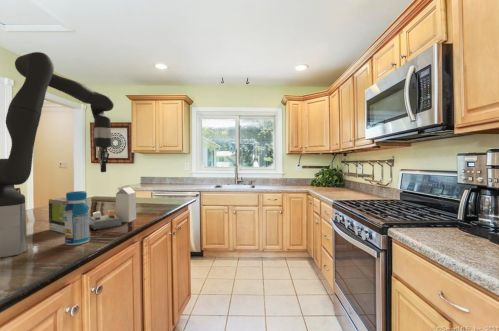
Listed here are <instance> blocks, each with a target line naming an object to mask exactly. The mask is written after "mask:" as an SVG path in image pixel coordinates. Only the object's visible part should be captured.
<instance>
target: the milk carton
mask: <svg viewBox="0 0 499 331" xmlns="http://www.w3.org/2000/svg"><path fill="white" fill-rule="evenodd" d="M115 211H116V214H115V215H116V216H118V217H119V218H121V223H131V222H134V221H135V220H137V197H136V191H135V190H134V189H133V188H132V187H131V186H130V184H128V185H121V188H120V189H119V191H117V192H116V193H115Z"/></svg>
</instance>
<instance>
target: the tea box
mask: <svg viewBox="0 0 499 331" xmlns="http://www.w3.org/2000/svg"><path fill="white" fill-rule="evenodd" d="M86 200H87V199H86ZM86 200H85V202H86V203H87V201H86ZM67 204H68V201H67V200H66V196H65V197H57V198H55V197H54V198H48V229H49V230H51V231H54V232H57V233H61V234H65V220H64V215H65V212H64V209H65V207H66V205H67Z"/></svg>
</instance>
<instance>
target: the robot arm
mask: <svg viewBox="0 0 499 331" xmlns="http://www.w3.org/2000/svg"><path fill="white" fill-rule="evenodd" d="M14 67H15V69H16V71H17V72H18V73H19V74H20V76H22V77H24V78H25V79H24V82H23V84H22V86H21V87H20V88H19V90H18V91H17V92H16V94H15V95H14V97H13V98H12V100H10V103H9V105H8V108H7V113H6V116H5V117H6V118H5V126H6V129H7V132H8V134H9V136H10V140H11V147H10V152H9V155H8V158H0V259H1V257H2V258H7V257H11V256H13V257H14V256H17V255H22V253H24V252H26V251H27V250H28V249H27V222H26V221H27V220H26V219H27V217H26V216H27V215H26V197H25V195H24V194H23V193H20V192H19V191H18V190H17V189H16V188H15V186H19V185H23V184H24V183H26V182H27V181H28V180H29V177H30V175H31V172H32V165H33V156H34V155H33V153H34V147H35V142H36V141H35V140H36V136H37V132H38V127H39V124H40V120H41V117H42V111H43V106H44V102H45V98H46V95H47V91H48V88H53V89H54V90H57V91H59V92H62V93H64V94H66V95H68V96H70V97H72V98H74V99H76V100H77V101H80V102H82V103H83V104H87V105H90V110H91V111H90V112H91V114H92V117H93V119H94V121H93V122H94V128H93V146H94V147H95V148H98V150H97V158H98V159H97V160H98V164H99V165H100V172H101V173H106V172H107V164H108V162H109V157H110V153H109V150H108V148H112V130H111V118H110V116H106V115H105V112H110V111H112V110H113V108H114V101H113V100H112V99H111V98H110V97H109V96H107V95H105V94H102V93H100V92H98V91H95V90H92V89H90V87H87V86H85V85H84V84H82V83H80V82H78V81H75V80H72V79H69V78H66V77H63V76H60V75H58V74H55V73H54V71H55V70H54V69H55V66H54V62H53V60H52V59H51V57H50V56H49V55H47V54H46V53H44V52H41V51H34V52H29V53H27V54H23V55H20V56H19V57H17V58H16V59H15V60H14Z"/></svg>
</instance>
